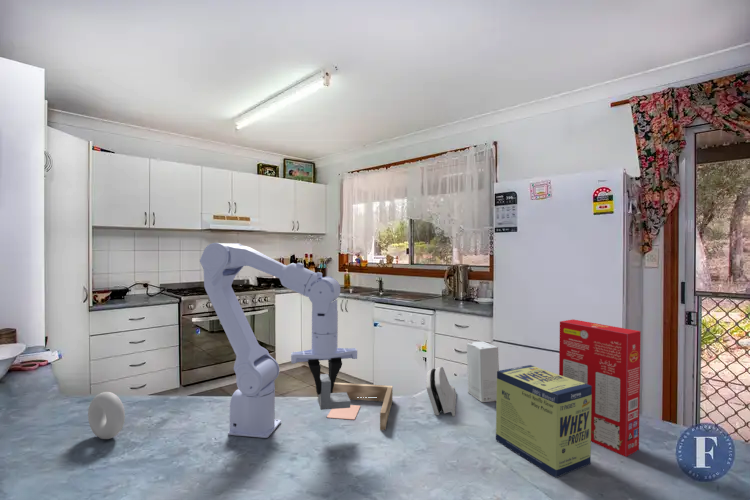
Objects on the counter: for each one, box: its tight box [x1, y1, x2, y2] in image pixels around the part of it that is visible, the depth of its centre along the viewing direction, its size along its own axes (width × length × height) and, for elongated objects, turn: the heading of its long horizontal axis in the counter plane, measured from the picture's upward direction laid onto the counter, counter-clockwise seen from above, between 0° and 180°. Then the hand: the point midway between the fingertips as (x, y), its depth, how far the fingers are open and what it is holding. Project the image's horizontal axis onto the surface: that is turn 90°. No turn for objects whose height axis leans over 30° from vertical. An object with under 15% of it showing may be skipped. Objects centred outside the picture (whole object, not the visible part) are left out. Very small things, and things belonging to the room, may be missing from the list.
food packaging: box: [558, 318, 642, 457], centre depth 85 cm, size 15×5×25 cm, turn 31°
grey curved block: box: [425, 366, 457, 418], centre depth 103 cm, size 17×5×10 cm, turn 167°
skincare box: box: [466, 341, 500, 403], centre depth 108 cm, size 8×6×15 cm
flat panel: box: [326, 404, 361, 421], centre depth 97 cm, size 7×8×1 cm
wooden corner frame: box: [316, 381, 394, 431], centre depth 98 cm, size 21×17×4 cm
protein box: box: [495, 364, 592, 478], centre depth 79 cm, size 10×16×16 cm
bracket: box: [317, 373, 351, 411], centre depth 85 cm, size 6×5×6 cm
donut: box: [87, 391, 126, 440], centre depth 83 cm, size 10×3×10 cm, turn 65°
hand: (324, 392), depth 85 cm, fingers closed on bracket
